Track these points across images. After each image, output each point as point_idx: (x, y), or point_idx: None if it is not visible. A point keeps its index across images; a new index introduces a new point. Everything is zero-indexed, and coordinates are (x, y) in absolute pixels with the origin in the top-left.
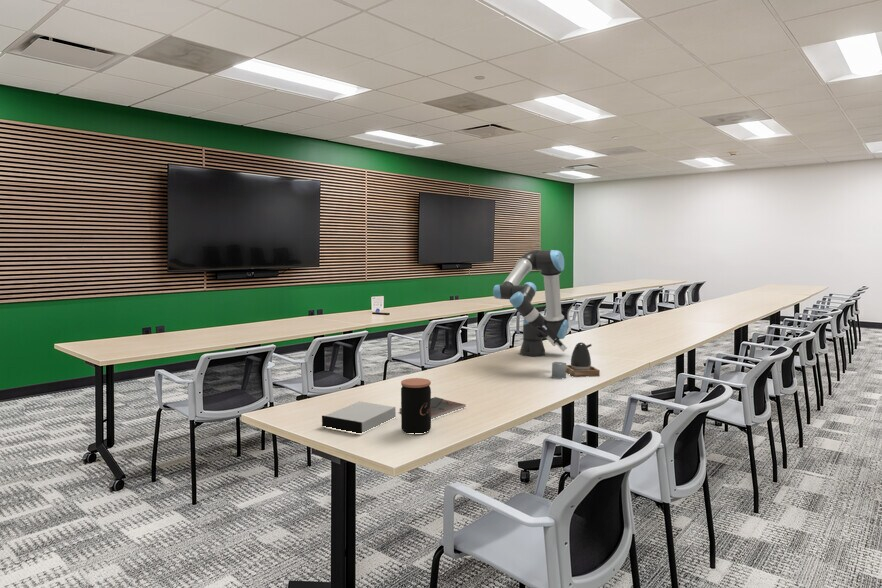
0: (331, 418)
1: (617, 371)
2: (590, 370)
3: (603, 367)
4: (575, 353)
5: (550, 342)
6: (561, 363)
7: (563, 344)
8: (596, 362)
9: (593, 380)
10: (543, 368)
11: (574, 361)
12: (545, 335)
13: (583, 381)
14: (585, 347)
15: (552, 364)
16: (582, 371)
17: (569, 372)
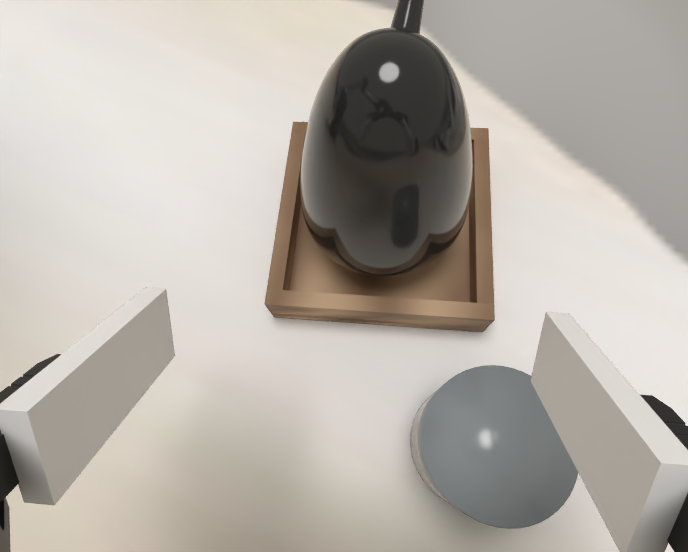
0: None
1: (375, 23)
2: (485, 185)
3: (259, 48)
4: (423, 202)
5: (127, 406)
6: (503, 417)
7: (607, 365)
8: (126, 34)
9: (596, 236)
10: (145, 440)
11: (423, 251)
12: (6, 534)
13: (625, 314)
14: (451, 67)
15: (501, 526)
16: (490, 246)
17: (408, 321)
